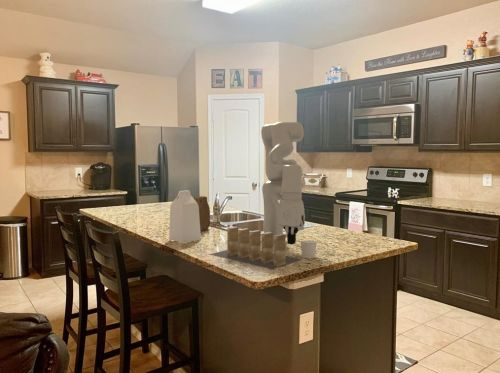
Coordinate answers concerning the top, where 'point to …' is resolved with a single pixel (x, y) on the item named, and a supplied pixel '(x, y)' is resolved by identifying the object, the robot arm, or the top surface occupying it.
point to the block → (203, 212)
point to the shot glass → (308, 249)
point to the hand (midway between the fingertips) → (291, 243)
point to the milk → (184, 218)
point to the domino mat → (256, 262)
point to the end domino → (232, 241)
